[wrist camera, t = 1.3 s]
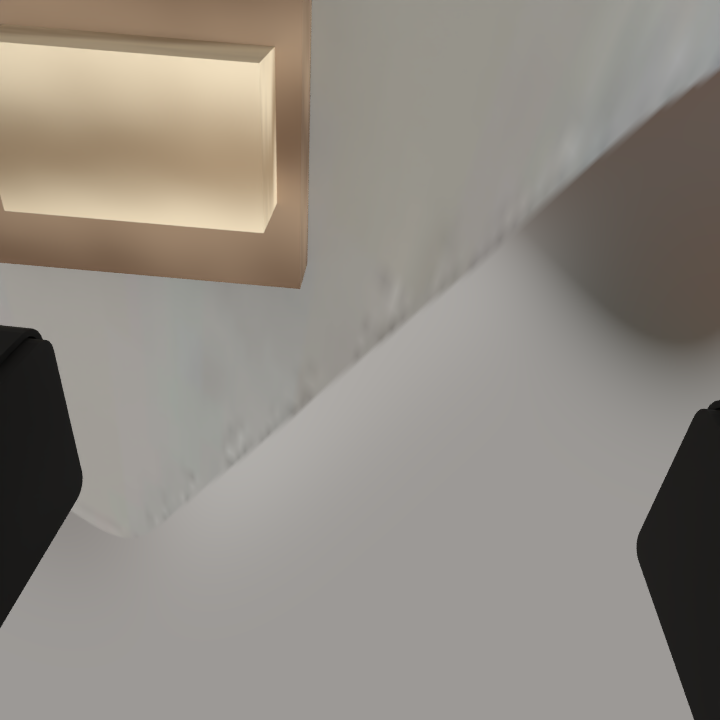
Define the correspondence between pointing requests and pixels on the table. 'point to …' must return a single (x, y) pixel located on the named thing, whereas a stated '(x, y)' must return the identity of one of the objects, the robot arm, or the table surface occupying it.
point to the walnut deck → (179, 243)
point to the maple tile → (137, 128)
